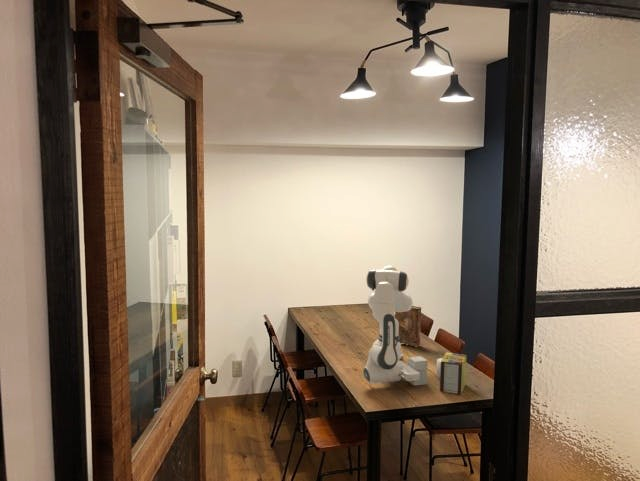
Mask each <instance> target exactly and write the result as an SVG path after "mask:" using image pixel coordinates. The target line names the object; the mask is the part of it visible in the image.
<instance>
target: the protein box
mask: <svg viewBox="0 0 640 481" xmlns="http://www.w3.org/2000/svg"><path fill="white" fill-rule="evenodd" d="M442 358H443V359H442V360H441V374H440V379H439V380H440V381H439V383H440V384H439V392H442V393H447V394H452V395H458V396H459V395H460V396H462V394H463V392H464V389H465V386H466V380H467V376H466V375H467V355H466V354H459V353H454V352H453V353H452V352H445V354H444V355H443V357H442Z"/></svg>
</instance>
